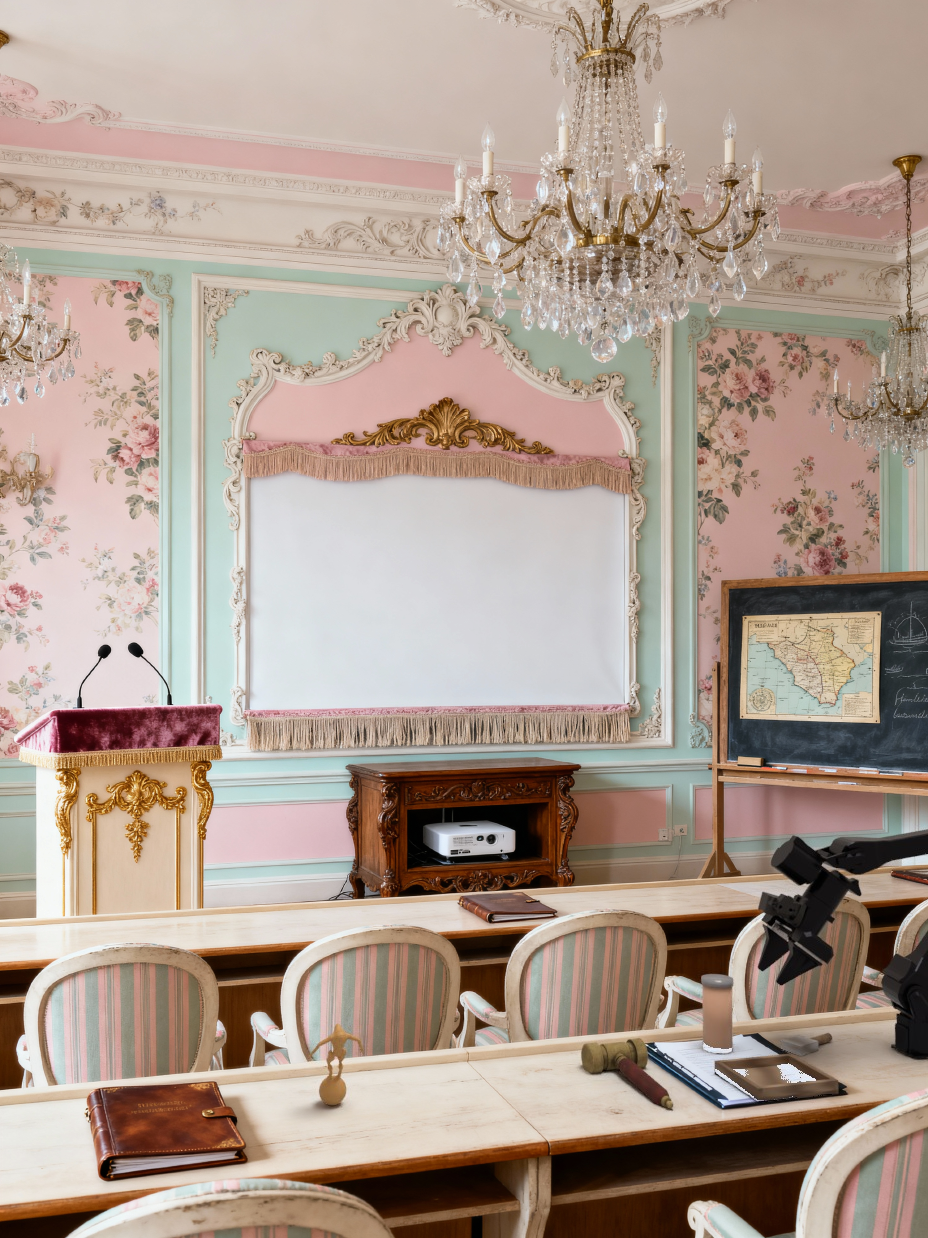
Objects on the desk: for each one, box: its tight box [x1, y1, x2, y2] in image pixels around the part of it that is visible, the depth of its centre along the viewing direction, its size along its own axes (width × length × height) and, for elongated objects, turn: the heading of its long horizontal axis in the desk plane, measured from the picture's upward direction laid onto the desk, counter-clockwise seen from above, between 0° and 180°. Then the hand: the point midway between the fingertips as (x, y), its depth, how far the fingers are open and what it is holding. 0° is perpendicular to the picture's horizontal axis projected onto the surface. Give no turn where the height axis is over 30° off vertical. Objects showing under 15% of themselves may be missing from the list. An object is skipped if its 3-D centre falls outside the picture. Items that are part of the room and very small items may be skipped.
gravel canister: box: [700, 973, 734, 1049], centre depth 180 cm, size 5×5×12 cm
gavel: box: [580, 1037, 674, 1109], centre depth 162 cm, size 21×5×10 cm
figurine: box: [307, 1023, 365, 1106], centre depth 152 cm, size 8×6×12 cm
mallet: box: [780, 1032, 833, 1057], centre depth 182 cm, size 11×4×2 cm, turn 127°
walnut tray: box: [714, 1053, 839, 1101], centre depth 164 cm, size 14×13×2 cm
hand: (768, 976), depth 179 cm, fingers open, 9 cm apart
